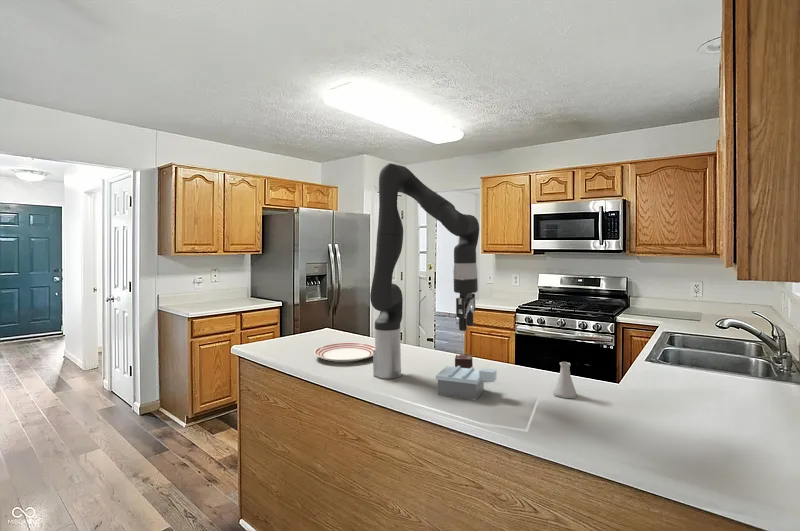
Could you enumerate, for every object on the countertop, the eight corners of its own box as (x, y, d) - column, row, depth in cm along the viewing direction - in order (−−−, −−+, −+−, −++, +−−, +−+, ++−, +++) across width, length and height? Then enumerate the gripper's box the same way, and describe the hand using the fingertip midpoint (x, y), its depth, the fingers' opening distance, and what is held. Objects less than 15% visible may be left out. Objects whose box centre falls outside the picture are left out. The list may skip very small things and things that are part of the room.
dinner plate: (392, 355, 185) (392, 348, 185) (343, 370, 165) (343, 361, 165) (349, 346, 203) (349, 339, 203) (300, 358, 183) (300, 350, 183)
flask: (575, 400, 129) (575, 367, 129) (550, 396, 133) (550, 364, 132) (579, 393, 135) (579, 361, 135) (555, 389, 139) (555, 358, 139)
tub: (438, 396, 134) (437, 379, 134) (448, 386, 144) (447, 370, 143) (475, 401, 130) (475, 383, 129) (483, 391, 139) (483, 374, 138)
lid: (435, 379, 134) (435, 369, 134) (446, 369, 144) (446, 360, 144) (491, 386, 127) (491, 376, 127) (498, 375, 137) (498, 366, 137)
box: (472, 380, 150) (472, 359, 150) (454, 379, 151) (454, 358, 151) (472, 374, 156) (472, 354, 156) (456, 374, 157) (455, 354, 157)
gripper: (460, 275, 145) (461, 323, 146) (447, 279, 132) (448, 331, 133) (482, 275, 142) (483, 324, 143) (471, 279, 129) (472, 333, 130)
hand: (466, 328), depth 138 cm, fingers open, 8 cm apart
